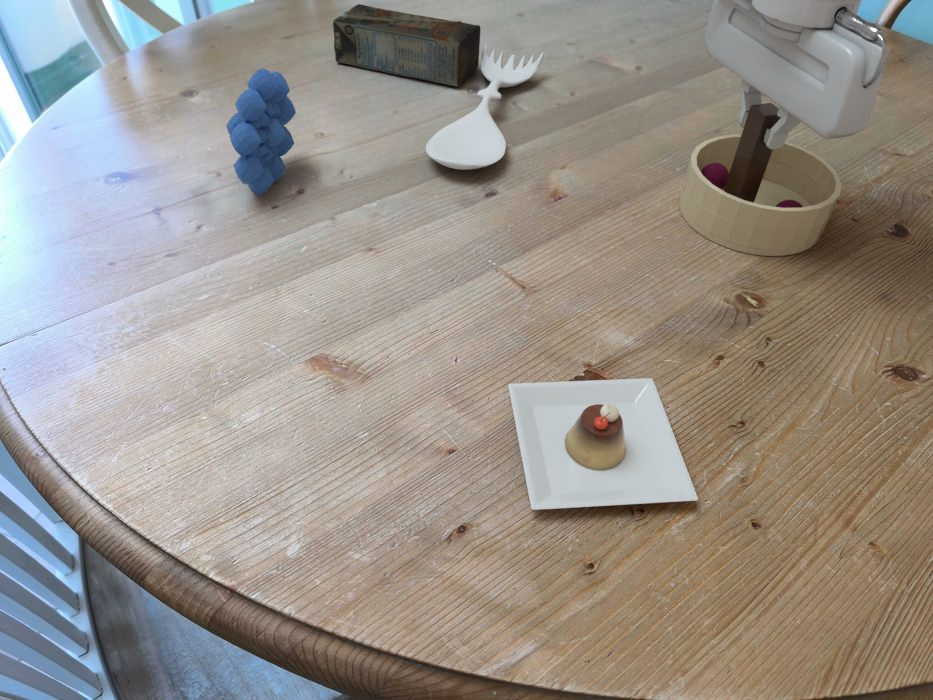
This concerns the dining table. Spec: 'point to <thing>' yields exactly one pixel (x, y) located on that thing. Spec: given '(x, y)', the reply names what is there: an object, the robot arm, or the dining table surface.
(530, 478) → the dessert
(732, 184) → the stick
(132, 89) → the dining table surface
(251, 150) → the grapes
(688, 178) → the bowl
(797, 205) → the berry
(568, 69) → the dining table surface
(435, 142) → the spoon
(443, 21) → the beverage carton
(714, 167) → the berry
